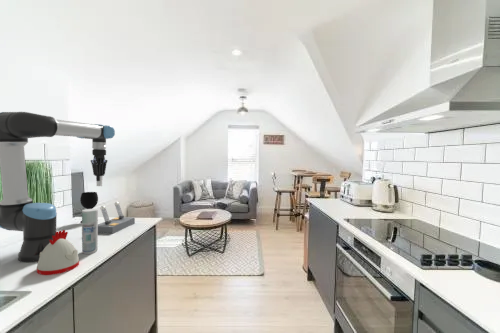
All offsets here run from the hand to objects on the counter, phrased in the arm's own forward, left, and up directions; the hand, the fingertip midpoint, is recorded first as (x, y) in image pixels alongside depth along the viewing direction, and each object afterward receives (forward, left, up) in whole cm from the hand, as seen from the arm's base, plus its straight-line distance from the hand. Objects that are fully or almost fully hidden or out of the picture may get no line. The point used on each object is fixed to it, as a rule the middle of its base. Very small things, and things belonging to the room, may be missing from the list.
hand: (99, 186), depth 165 cm
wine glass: (+12, +16, -27) cm, 33 cm away
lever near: (-7, -11, -22) cm, 26 cm away
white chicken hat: (-58, -24, -27) cm, 68 cm away
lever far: (+7, -11, -22) cm, 26 cm away
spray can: (-40, -24, -27) cm, 54 cm away
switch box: (0, -11, -26) cm, 29 cm away
